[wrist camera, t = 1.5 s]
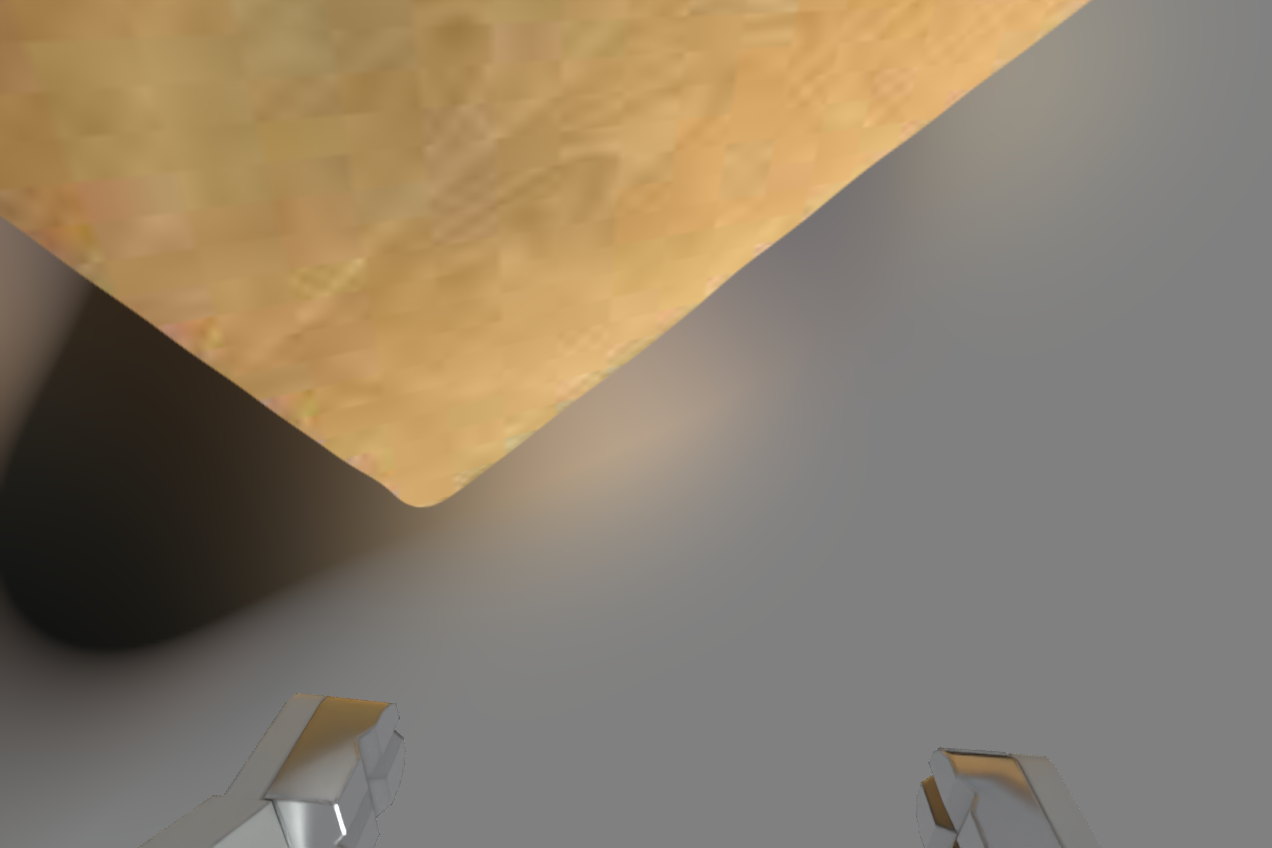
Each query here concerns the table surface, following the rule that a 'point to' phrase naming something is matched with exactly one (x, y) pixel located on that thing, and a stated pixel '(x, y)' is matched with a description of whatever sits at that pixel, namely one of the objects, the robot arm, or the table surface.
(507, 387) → the table surface
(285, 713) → the robot arm
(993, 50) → the table surface
